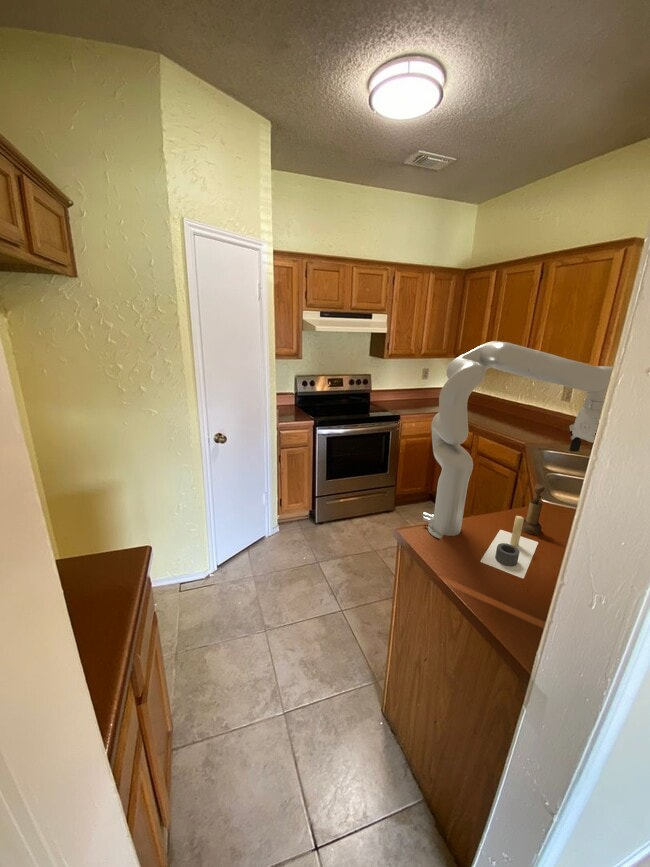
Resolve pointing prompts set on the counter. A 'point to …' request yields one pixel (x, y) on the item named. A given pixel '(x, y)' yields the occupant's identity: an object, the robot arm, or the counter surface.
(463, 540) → the counter surface
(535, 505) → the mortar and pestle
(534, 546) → the post board
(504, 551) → the ring
